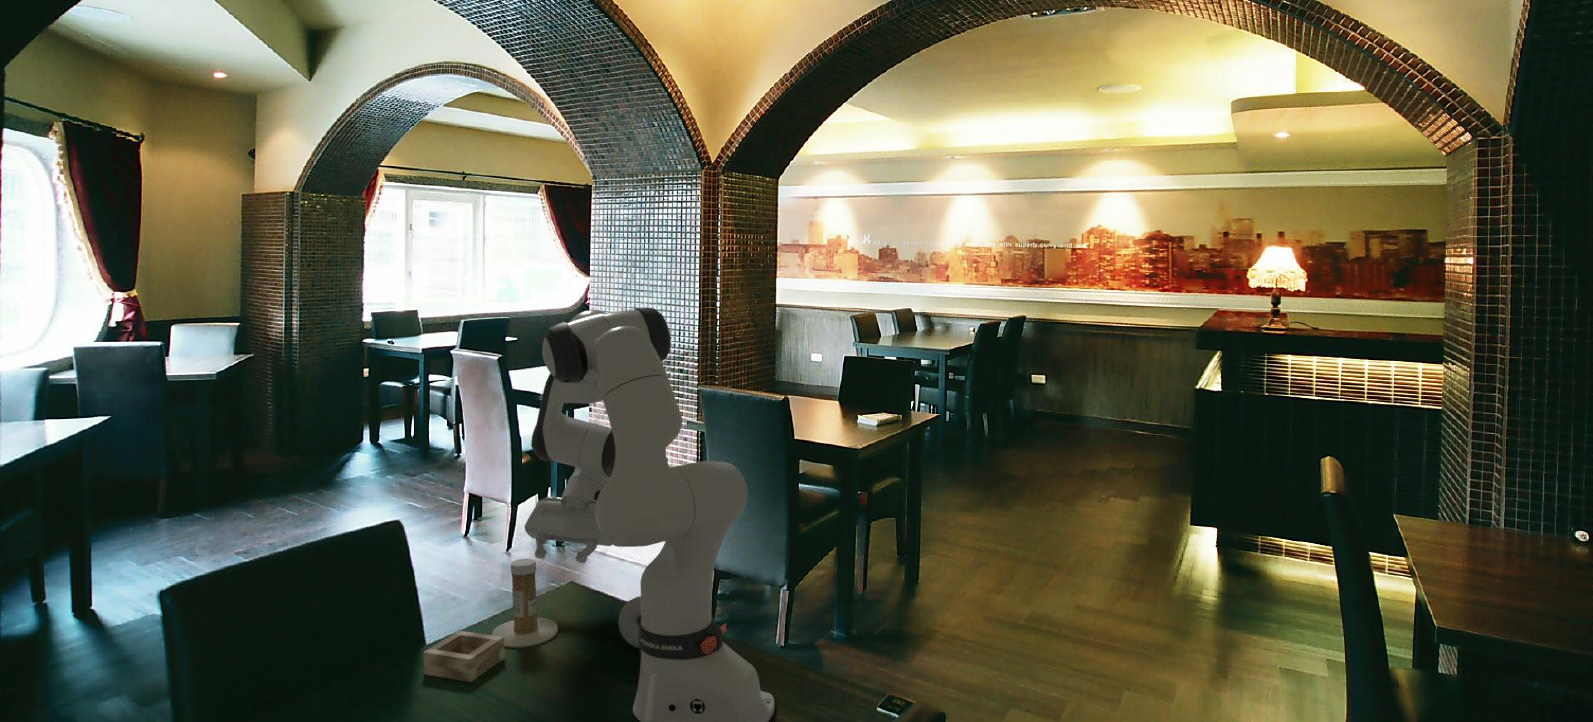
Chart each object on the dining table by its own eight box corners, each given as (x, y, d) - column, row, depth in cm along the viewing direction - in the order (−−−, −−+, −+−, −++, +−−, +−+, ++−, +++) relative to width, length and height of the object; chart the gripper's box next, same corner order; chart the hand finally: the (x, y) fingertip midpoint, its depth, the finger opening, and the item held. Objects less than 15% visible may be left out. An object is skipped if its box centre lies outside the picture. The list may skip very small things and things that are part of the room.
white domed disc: (569, 625, 178) (569, 621, 178) (534, 651, 166) (534, 646, 166) (516, 618, 181) (516, 614, 181) (478, 642, 170) (478, 638, 170)
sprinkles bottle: (541, 631, 173) (538, 563, 172) (516, 636, 171) (514, 567, 169) (534, 623, 177) (531, 556, 175) (510, 628, 175) (507, 560, 173)
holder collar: (504, 658, 163) (503, 637, 163) (470, 682, 154) (469, 659, 154) (460, 651, 166) (459, 630, 166) (424, 674, 157) (423, 652, 157)
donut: (616, 651, 166) (614, 598, 165) (622, 643, 170) (621, 591, 169) (669, 654, 165) (668, 601, 164) (674, 646, 168) (673, 594, 167)
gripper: (534, 488, 193) (508, 547, 185) (620, 495, 187) (597, 556, 179) (546, 503, 198) (522, 561, 190) (631, 511, 192) (609, 571, 184)
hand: (559, 559), depth 184 cm, fingers open, 8 cm apart
